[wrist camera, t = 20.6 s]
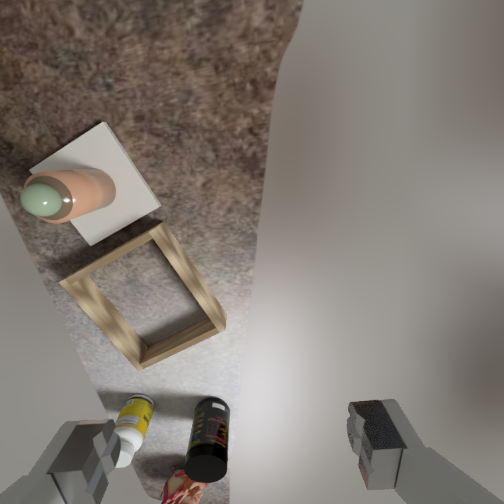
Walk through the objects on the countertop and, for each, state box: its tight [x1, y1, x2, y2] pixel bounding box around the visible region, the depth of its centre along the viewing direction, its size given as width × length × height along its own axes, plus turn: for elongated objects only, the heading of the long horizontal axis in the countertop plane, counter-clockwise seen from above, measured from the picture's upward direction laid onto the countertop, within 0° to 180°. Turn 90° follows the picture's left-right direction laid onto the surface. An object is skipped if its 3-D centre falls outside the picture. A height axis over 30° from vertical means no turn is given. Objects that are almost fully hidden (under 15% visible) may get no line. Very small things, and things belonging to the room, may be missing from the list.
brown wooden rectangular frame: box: [59, 221, 227, 371], centre depth 40 cm, size 18×16×4 cm
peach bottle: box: [21, 168, 116, 223], centre depth 30 cm, size 5×5×12 cm
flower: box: [160, 466, 208, 504], centre depth 54 cm, size 10×9×8 cm
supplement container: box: [184, 398, 230, 483], centre depth 46 cm, size 7×7×10 cm
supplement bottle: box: [114, 394, 154, 468], centre depth 46 cm, size 5×5×10 cm
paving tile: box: [30, 122, 161, 246], centre depth 36 cm, size 12×12×1 cm
